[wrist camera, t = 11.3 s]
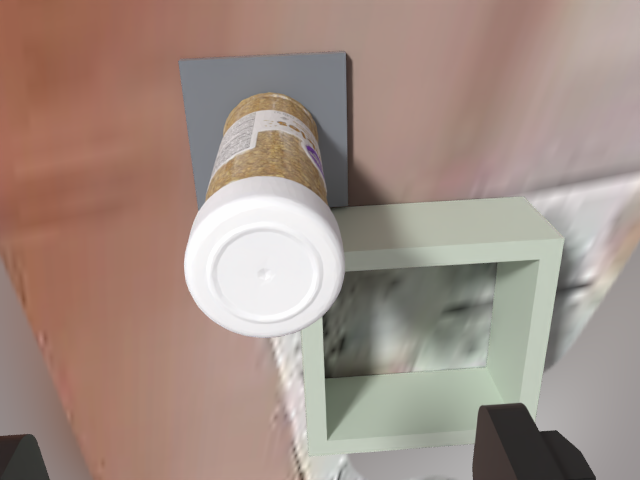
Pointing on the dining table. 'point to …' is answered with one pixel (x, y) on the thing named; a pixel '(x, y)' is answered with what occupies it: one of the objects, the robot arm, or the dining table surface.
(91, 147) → the dining table surface
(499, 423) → the robot arm
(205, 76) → the coaster
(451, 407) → the crate
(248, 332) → the sprinkles bottle
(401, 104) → the dining table surface
